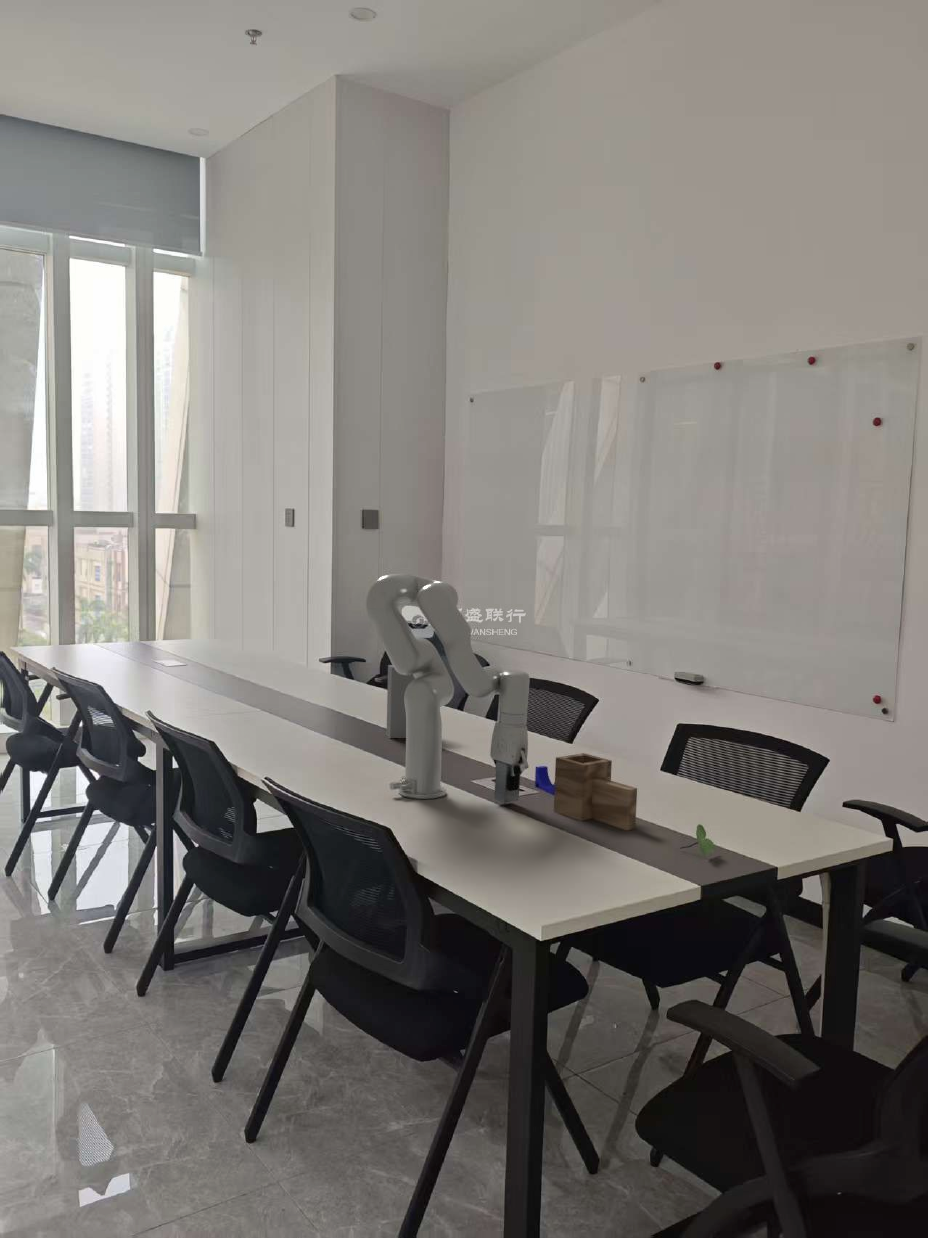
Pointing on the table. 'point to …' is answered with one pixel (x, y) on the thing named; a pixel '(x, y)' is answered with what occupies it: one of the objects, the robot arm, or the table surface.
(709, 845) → the seedling
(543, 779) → the blue cradle block
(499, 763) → the upright grey metal pillar
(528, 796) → the table surface
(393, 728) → the tall grey block
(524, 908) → the table surface
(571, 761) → the brown stepped hollow block
